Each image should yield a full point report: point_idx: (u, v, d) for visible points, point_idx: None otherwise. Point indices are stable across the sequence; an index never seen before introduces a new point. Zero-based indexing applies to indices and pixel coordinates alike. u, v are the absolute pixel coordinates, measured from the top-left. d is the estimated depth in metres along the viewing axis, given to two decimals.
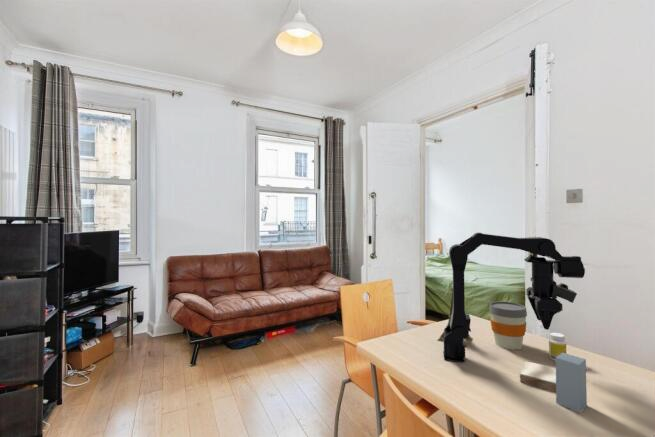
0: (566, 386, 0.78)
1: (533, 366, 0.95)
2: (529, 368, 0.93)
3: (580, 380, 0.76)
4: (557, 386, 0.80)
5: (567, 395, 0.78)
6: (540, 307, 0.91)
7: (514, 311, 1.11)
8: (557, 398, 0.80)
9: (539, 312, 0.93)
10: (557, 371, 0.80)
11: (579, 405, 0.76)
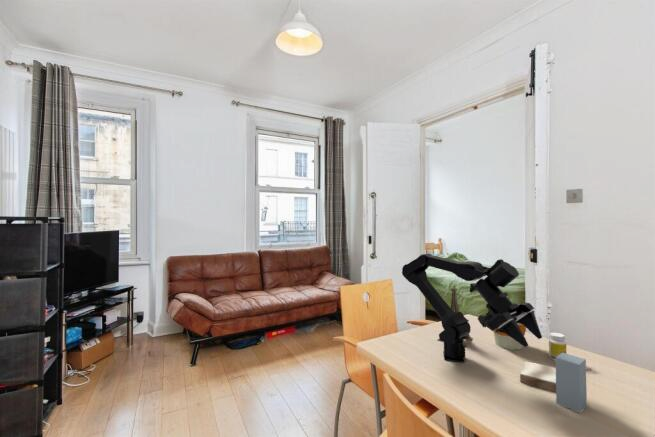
0: (566, 386, 0.78)
1: (533, 366, 0.95)
2: (529, 368, 0.93)
3: (580, 380, 0.76)
4: (557, 386, 0.80)
5: (567, 395, 0.78)
6: None
7: None
8: (557, 398, 0.80)
9: None
10: (557, 371, 0.80)
11: (579, 405, 0.76)
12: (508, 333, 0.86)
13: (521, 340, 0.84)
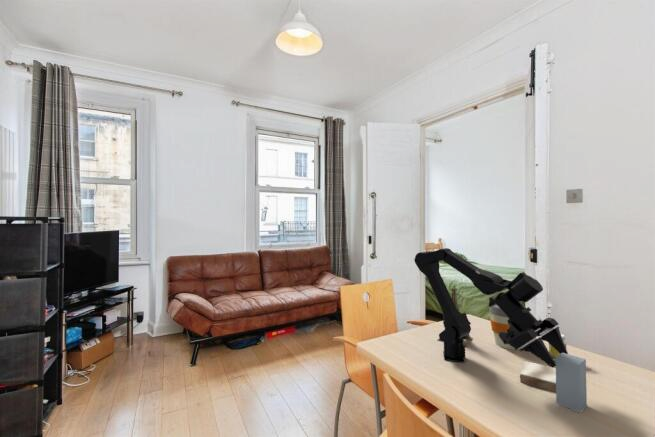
0: (566, 386, 0.78)
1: (533, 366, 0.95)
2: (529, 368, 0.93)
3: (580, 380, 0.76)
4: (557, 386, 0.80)
5: (567, 395, 0.78)
6: None
7: None
8: (557, 398, 0.80)
9: None
10: (557, 371, 0.80)
11: (579, 405, 0.76)
12: (534, 352, 0.81)
13: (548, 360, 0.79)
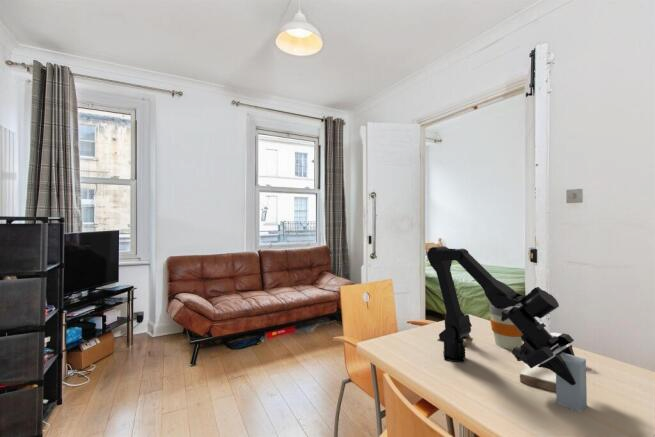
0: (566, 386, 0.78)
1: None
2: (529, 368, 0.93)
3: (580, 380, 0.76)
4: (557, 386, 0.80)
5: (567, 395, 0.78)
6: None
7: None
8: (557, 398, 0.80)
9: None
10: None
11: (579, 405, 0.76)
12: (552, 369, 0.79)
13: (567, 377, 0.77)
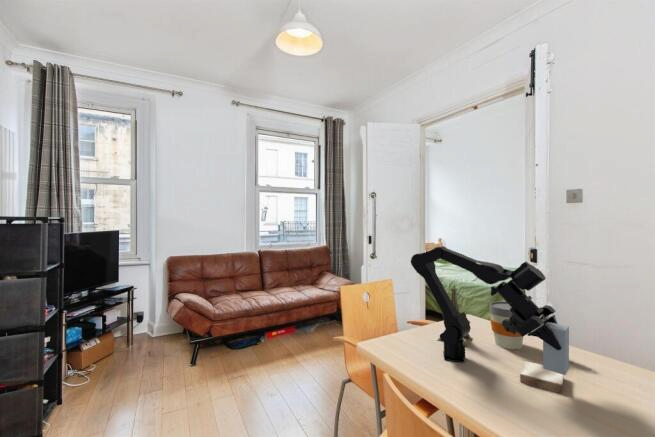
0: (552, 352, 0.84)
1: (533, 366, 0.95)
2: (529, 368, 0.93)
3: (565, 345, 0.82)
4: (544, 353, 0.85)
5: (553, 360, 0.84)
6: None
7: None
8: (544, 364, 0.85)
9: None
10: None
11: (564, 368, 0.82)
12: (541, 337, 0.84)
13: (554, 343, 0.83)
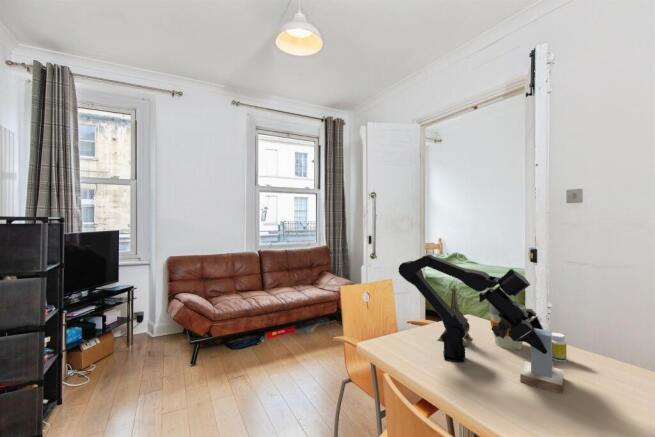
0: (539, 356, 0.90)
1: None
2: (529, 368, 0.93)
3: (551, 349, 0.88)
4: (532, 358, 0.91)
5: (540, 364, 0.89)
6: None
7: None
8: (531, 368, 0.91)
9: None
10: None
11: (551, 371, 0.88)
12: (528, 342, 0.88)
13: (541, 347, 0.87)
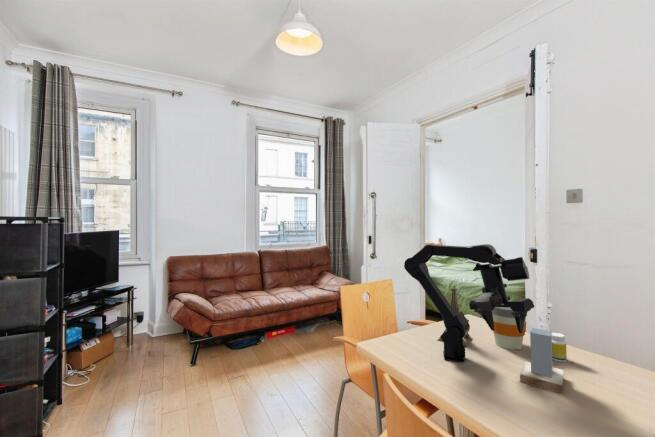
0: (539, 356, 0.90)
1: None
2: (529, 368, 0.93)
3: (551, 349, 0.88)
4: (532, 358, 0.91)
5: (540, 364, 0.89)
6: None
7: None
8: (531, 368, 0.91)
9: None
10: (531, 344, 0.91)
11: (551, 371, 0.88)
12: (520, 318, 0.92)
13: (522, 327, 0.93)
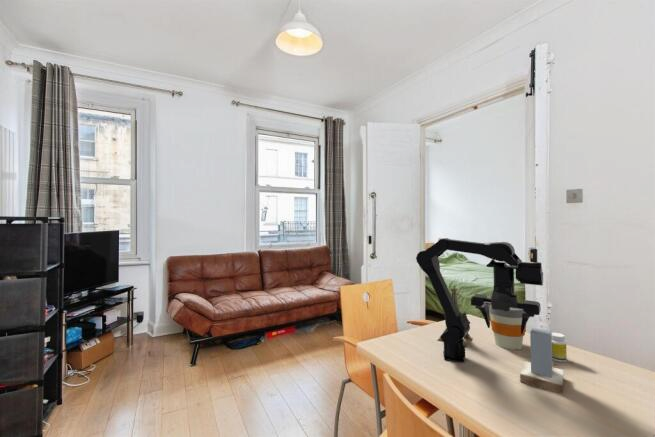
0: (539, 356, 0.90)
1: None
2: (529, 368, 0.93)
3: (551, 349, 0.88)
4: (532, 358, 0.91)
5: (540, 364, 0.89)
6: None
7: (514, 311, 1.11)
8: (531, 368, 0.91)
9: None
10: (531, 344, 0.91)
11: (551, 371, 0.88)
12: None
13: (524, 328, 0.94)
